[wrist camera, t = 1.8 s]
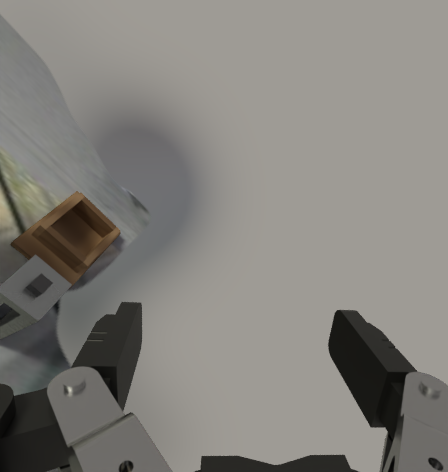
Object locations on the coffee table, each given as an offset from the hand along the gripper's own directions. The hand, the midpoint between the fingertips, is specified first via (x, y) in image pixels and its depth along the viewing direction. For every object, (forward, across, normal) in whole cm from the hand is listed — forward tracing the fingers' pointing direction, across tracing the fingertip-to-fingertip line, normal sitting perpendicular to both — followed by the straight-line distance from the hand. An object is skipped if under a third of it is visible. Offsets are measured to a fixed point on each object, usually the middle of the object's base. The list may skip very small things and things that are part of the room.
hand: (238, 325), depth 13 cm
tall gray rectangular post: (+21, +25, +15) cm, 36 cm away
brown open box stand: (+33, +20, +9) cm, 40 cm away
